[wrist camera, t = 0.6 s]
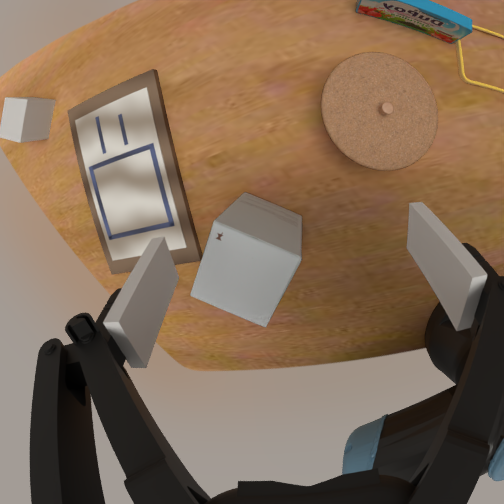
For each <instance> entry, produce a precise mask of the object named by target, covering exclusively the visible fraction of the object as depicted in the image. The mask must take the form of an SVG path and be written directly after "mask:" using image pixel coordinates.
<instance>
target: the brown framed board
mask: <svg viewBox="0 0 504 504" xmlns="http://www.w3.org/2000/svg"><path fill="white" fill-rule="evenodd" d="M68 116H69V121H70V127H71V132H72V137H73V142H74V146H75V151H76V155H77V160H78V164H79V168H80V172H81V176H82V180H83V184H84V188H85V192H86V195H87V199H88V203H89V206H90V210H91V213H92V216H93V220H94V223H95V226H96V230H97V233H98V236H99V239H100V242H101V245H102V248H103V251H104V254H105V257H106V260H107V263H108V265H109V268H110V271H111V274H118V273H125V272H131V271H132V270H133V269H134V267H135V265H136V264H137V262H138V260H139V259H140V257H141V255H142V254H143V252H144V250H145V249H146V247H147V246H148V244H149V242H150V241H151V239H152V238H158V237H165V240H166V243H167V245H168V248H169V251H170V254H171V257H172V259H173V262H174V265H177V264H183V263H190V262H196V261H201V259H202V253H201V249H200V245H199V242H198V238H197V235H196V231H195V227H194V224H193V220H192V216H191V212H190V209H189V205H188V201H187V197H186V193H185V190H184V186H183V182H182V178H181V174H180V170H179V166H178V162H177V158H176V154H175V149H174V145H173V141H172V137H171V132H170V128H169V124H168V119H167V115H166V111H165V106H164V102H163V97H162V92H161V88H160V83H159V78H158V73H157V70H154V69H152V70H150V71H148V72H145V73H143V74H140V75H138V76H136V77H133V78H131V79H129V80H127V81H125V82H122V83H120V84H118V85H116V86H114V87H112V88H110V89H108V90H106V91H104V92H102V93H100V94H98V95H96V96H94V97H92V98H90V99H88V100H86V101H84V102H82V103H81V104H79V105H77V106H75V107H73V108H72V109H70V110H68Z"/></svg>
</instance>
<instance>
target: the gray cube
mask: <svg viewBox="0 0 504 504" xmlns="http://www.w3.org/2000/svg"><path fill="white" fill-rule="evenodd" d="M55 101H56V100H53V99H44V98H36V97H5V102H4V108H3V114H2V120H1V127H0V138H4V139H8V140H12V141H16V142H19V143H22V142H29V141H36V140H44V139H48V138H49V132H50V127H51V121H52V116H53V111H54V106H55Z"/></svg>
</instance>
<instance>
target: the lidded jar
mask: <svg viewBox="0 0 504 504" xmlns="http://www.w3.org/2000/svg"><path fill="white" fill-rule="evenodd" d="M321 114H322V118H323V123H324V125H325V128H326V131H327V133H328V135H329V136H330V138H331V140H332V141H333V143H334V144H335V145H336V146H337V148H338V149H339V150H340V151H341V152H342V153H343V154H344V155H346V156H347V157H348V158H350V159H351V160H352V161H354V162H356V163H358V164H360V165H362V166H365V167H368V168H370V169H375V170H381V171H391V170H398V169H402V168H405V167H408V166H410V165H412V164H414V163H415V162H416V161H418V160H419V159H420V158H421V157H422V156H423V155H424V154H425V153H426V152H427V151H428V149H429V148H430V146H431V145H432V143H433V140H434V138H435V135H436V131H437V126H438V109H437V104H436V100H435V97H434V95H433V92H432V90H431V88H430V86H429V85H428V83H427V82H426V80H425V79H424V77H423V76H422V75H421V74H420V73H419V72H418V71H417V70H416V69H415V68H414V67H412V66H411V65H410V64H409V63H407V62H405V61H404V60H402V59H400V58H398V57H395V56H393V55H389V54H385V53H379V52H367V53H361V54H357V55H354V56H352V57H349V58H347V59H346V60H344V61H343V62H341V63H340V64H339V65H338V66H337V67H336V68H335V69H334V70H333V71H332V72H331V74H330V75H329V77H328V79H327V81H326V83H325V85H324V88H323V92H322V97H321Z"/></svg>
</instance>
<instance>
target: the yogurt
mask: <svg viewBox="0 0 504 504" xmlns="http://www.w3.org/2000/svg"><path fill="white" fill-rule="evenodd" d="M356 12H357V13H360V14H364V15H368V16H371V17H375V18H379V19H382V20H386V21H389V22H392V23H396V24H399V25H402V26H405V27H408V28H411V29H414V30H416V31H419V32H422V33H425V34H427V35H430V36H432V37H435V38H438V39H440V40H442V41H445V42H447V43H450V44H452V43H454V42H456V41H458V40H459V39H461V38H463V37H465V36H466V35H468V34H470V33H472V20H471V19H470V18H468V17H466V16H464V15H462V14H460V13H458V12H455V11H453V10H451V9H449V8H446V7H444V6H442V5H439V4H437V3H434V2H432V1H429V0H357V5H356Z"/></svg>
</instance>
